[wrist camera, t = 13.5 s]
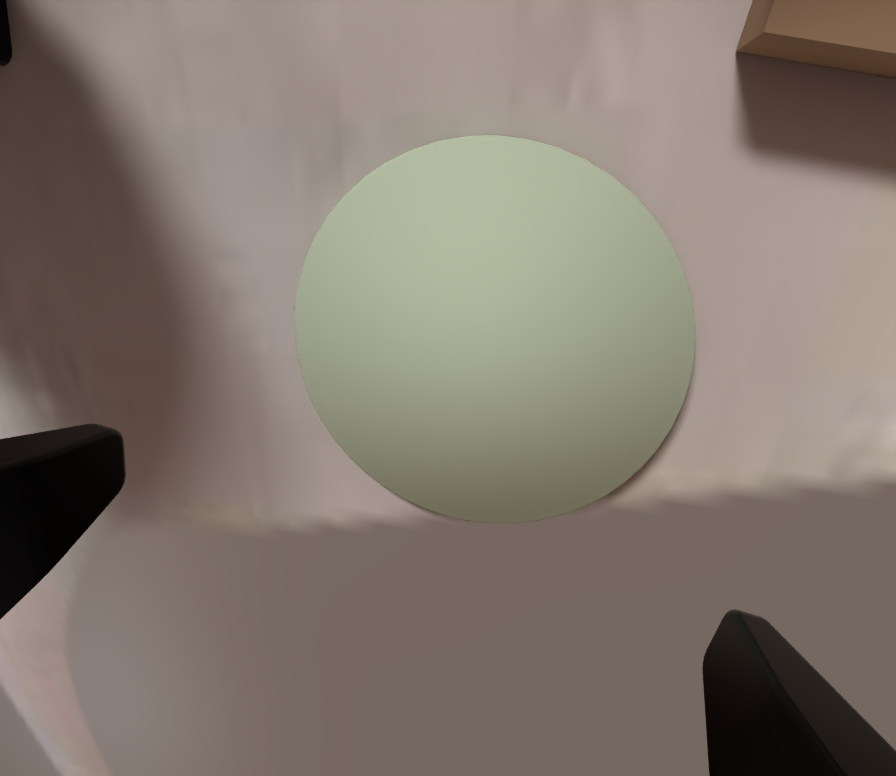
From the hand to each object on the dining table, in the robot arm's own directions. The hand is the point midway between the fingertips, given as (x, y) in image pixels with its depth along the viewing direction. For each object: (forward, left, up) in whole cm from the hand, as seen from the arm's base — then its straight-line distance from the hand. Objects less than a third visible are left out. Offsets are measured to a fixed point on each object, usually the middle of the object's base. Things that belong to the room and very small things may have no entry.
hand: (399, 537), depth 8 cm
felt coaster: (0, 0, -9) cm, 9 cm away
